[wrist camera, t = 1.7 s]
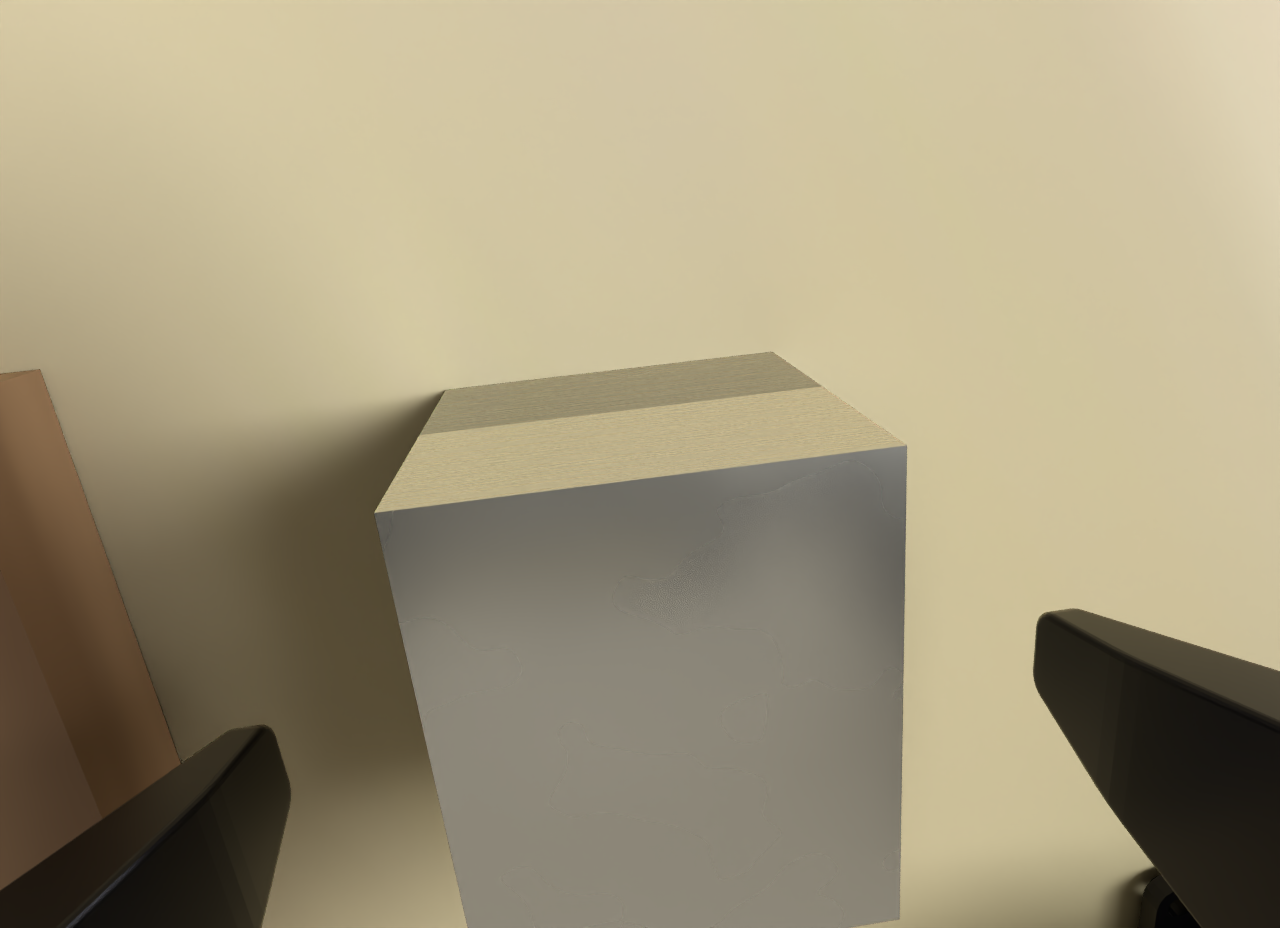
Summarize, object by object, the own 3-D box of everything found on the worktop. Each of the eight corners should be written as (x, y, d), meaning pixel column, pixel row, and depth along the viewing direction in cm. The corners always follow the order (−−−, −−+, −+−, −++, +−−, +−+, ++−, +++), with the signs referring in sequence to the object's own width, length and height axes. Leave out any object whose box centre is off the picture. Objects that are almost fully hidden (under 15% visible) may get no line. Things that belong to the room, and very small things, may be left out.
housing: (770, 350, 12) (907, 446, 7) (784, 679, 14) (899, 919, 9) (446, 388, 12) (373, 512, 7) (507, 719, 14) (481, 989, 9)
